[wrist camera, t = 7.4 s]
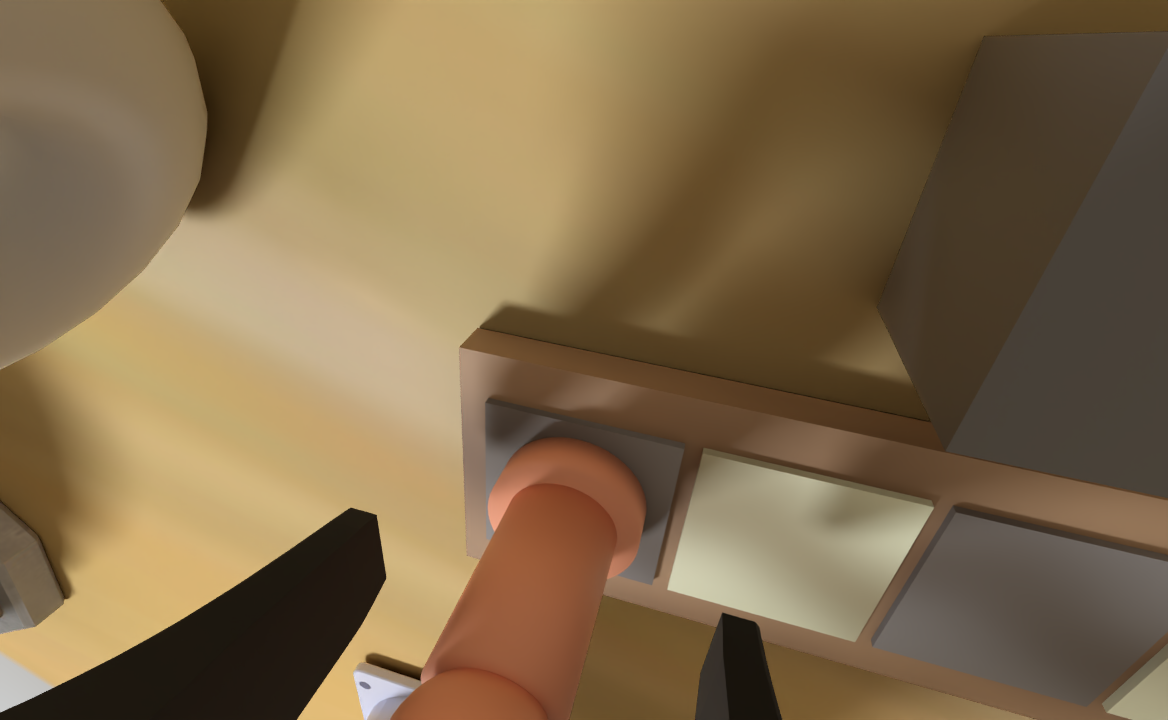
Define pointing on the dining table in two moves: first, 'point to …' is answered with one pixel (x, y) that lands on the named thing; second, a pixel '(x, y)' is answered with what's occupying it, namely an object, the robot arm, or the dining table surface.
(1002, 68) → the die
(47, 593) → the tankard
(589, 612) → the pawn
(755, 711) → the robot arm
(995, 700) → the track board
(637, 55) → the dining table surface
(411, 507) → the dining table surface
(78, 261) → the donut
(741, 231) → the dining table surface
